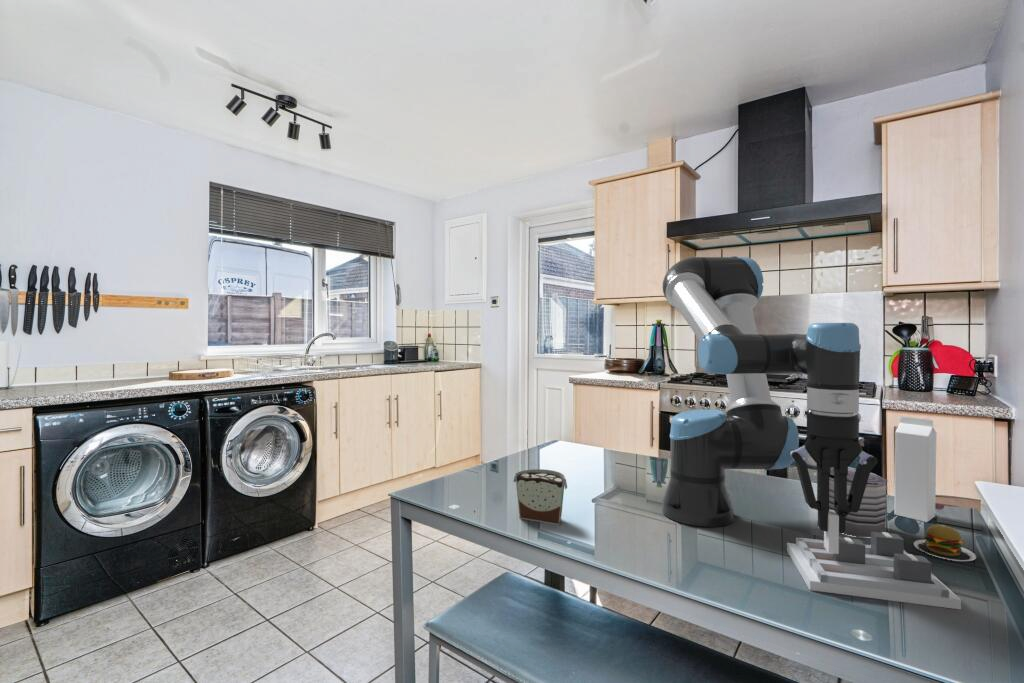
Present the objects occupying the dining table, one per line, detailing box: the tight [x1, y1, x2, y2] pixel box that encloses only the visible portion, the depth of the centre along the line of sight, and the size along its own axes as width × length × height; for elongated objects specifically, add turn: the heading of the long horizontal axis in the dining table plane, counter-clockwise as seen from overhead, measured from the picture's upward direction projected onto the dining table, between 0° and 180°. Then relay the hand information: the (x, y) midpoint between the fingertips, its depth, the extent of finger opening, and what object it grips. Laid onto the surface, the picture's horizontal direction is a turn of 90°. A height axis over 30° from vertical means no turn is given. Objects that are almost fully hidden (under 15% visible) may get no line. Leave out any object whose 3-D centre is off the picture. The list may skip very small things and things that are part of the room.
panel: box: [786, 537, 962, 610], centre depth 84 cm, size 20×15×3 cm
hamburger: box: [913, 524, 977, 562], centre depth 94 cm, size 12×12×6 cm
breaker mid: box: [833, 536, 866, 564], centre depth 85 cm, size 4×2×4 cm, turn 74°
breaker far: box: [870, 532, 905, 557], centre depth 87 cm, size 4×2×4 cm, turn 74°
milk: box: [893, 416, 937, 523], centre depth 112 cm, size 6×6×22 cm
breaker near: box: [893, 553, 932, 584], centre depth 79 cm, size 4×2×4 cm, turn 74°
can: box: [829, 466, 889, 537], centre depth 105 cm, size 11×11×12 cm
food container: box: [513, 468, 568, 526], centre depth 112 cm, size 12×6×10 cm, turn 65°
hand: (831, 549), depth 86 cm, fingers closed
